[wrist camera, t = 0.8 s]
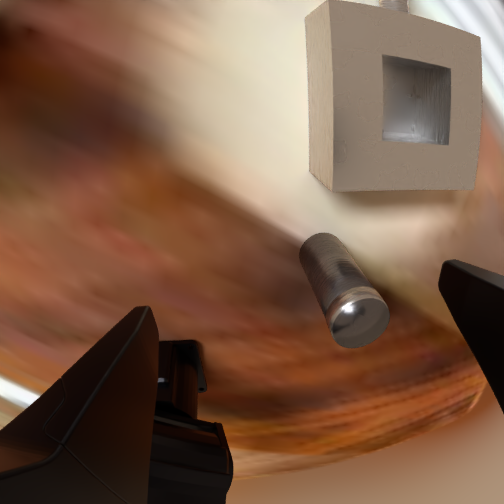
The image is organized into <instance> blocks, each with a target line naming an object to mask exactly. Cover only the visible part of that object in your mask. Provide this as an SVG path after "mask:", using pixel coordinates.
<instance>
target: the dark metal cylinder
mask: <svg viewBox="0 0 504 504" xmlns="http://www.w3.org/2000/svg"><path fill="white" fill-rule="evenodd" d="M299 258H300V262H301V264H302V267H303V269H304V271H305V273H306V275H307V278H308V280H309V282H310V284H311V287H312V289H313V291H314V293H315V296H316V298H317V300H318V302H319V305H320V307H321V309H322V311H323V314H324V316H325V318H326V322H327V325H328V328H329V330H330V332H331V335H332V337H333V339H334V340H335V341H336V342H337V343H338V344H339V345H341V346H343V347H346V348H358V347H362V346H365V345H367V344H369V343H371V342H373V341H374V340H376V339H377V338H378V337H379V336H380V335H381V334H382V333H383V332H384V331H385V329H386V327H387V325H388V323H389V319H390V313H389V309H388V306H387V305H386V303H385V302H384V300H383V299H382V297H381V296H380V294H379V293H378V292H377V291H376V290H375V289H374V287H373V286H372V285H371V283H370V282H369V280H368V279H367V278H366V276H365V275H364V273H363V272H362V271H361V269H360V268H359V266H358V265H357V264H356V262H355V261H354V260H353V258H352V257H351V255H350V254H349V253H348V251H347V250H346V249H345V247H344V246H343V245H342V243H341V242H340V241H339V239H338V238H337V237H335V236H334V235H332V234H329V233H319V234H315V235H313V236H311V237H310V238H308V239H307V240H306V241H305V242H304V244H303V245H302V247H301V249H300V253H299Z"/></svg>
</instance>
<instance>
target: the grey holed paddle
mask: <svg viewBox="0 0 504 504" xmlns="http://www.w3.org/2000/svg"><path fill="white" fill-rule="evenodd" d="M379 5H380V7H377V6H372V5H366V4H360V3H354V2H347V1H340V0H326V1H325V2H324V3H322V4H321V5H320V6H319V7H317V8H316V9H315V10H314V11H312V12H311V13H310V14H309V15H307V16H306V17H305V29H306V46H307V68H308V97H309V171H310V172H311V173H312V174H313V175H314V176H315V177H316V178H317V179H319V180H320V181H321V182H322V183H323V184H324V185H325V186H326V187H327V188H328V189H329V190H330V191H331V192H348V191H380V190H474V185H475V178H476V171H477V163H478V154H479V144H480V131H481V114H482V58H481V42H480V37H479V36H476V35H474V34H471V33H468V32H466V31H463V30H460V29H457V28H455V27H452V26H449V25H446V24H443V23H440V22H436V21H433V20H430V19H426V18H423V17H419V16H416V15H412V14H410V13H409V4H408V0H379Z"/></svg>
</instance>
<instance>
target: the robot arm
mask: <svg viewBox="0 0 504 504" xmlns="http://www.w3.org/2000/svg"><path fill="white" fill-rule="evenodd" d="M438 287H439V291H440V293H441V295H442V297H443V298H444V300H445V302H446V304H447V306H448V308H449V310H450V312H451V315H452V317H453V319H454V321H455V323H456V325H457V327H458V328H459V330H460V332H461V334H462V335H463V337H464V339H465V340H466V342H467V344H468V346H469V347H470V349H471V351H472V353H473V354H474V356H475V358H476V360H477V362H478V364H479V365H480V367H481V369H482V371H483V373H484V375H485V377H486V379H487V381H488V383H489V384H490V386H491V388H492V390H493V392H494V395H495V397H496V398H497V401H498V403H499V405H500V407H501V409H502V411H503V414H504V276H503V275H500V274H497V273H494V272H491V271H488V270H485V269H482V268H480V267H477V266H474V265H471V264H468V263H465V262H462V261H459V260H456V259H452V260H447V261H445V262H444V263H443V264H442V268H441V273H440V277H439V282H438ZM190 346H193V347H190ZM205 391H207V384H206V380H205V376H204V371H203V367H202V363H201V358H200V354H199V349H198V345H197V342H195V341H193V340H183V341H164V342H159V333H158V328H157V325H156V322H155V319H154V316H153V313H152V310H151V308H150V307H149V306H138V307H135V308H134V309H132V310H131V311H130V312H129V313H128V314H127V315H126V316H125V317H124V318H123V319H122V320H120V321H119V322H118V323H117V324H116V325H115V326H114V327H113V328H112V329H111V330H110V331H109V332H108V333H106V334H105V335H104V336H103V337H102V338H101V339H100V340H99V341H98V342H97V343H96V344H95V345H94V346H93V347H92V348H91V349H89V350H88V351H87V352H86V353H85V354H84V355H83V356H82V357H81V358H80V359H79V360H78V361H77V362H76V363H75V364H74V365H73V366H72V367H71V368H70V369H68V370H67V371H66V372H65V373H64V374H63V375H62V376H61V378H59V379H58V380H57V381H56V382H55V383H54V384H53V385H52V386H51V387H50V388H49V389H48V390H47V391H46V392H45V393H43V394H42V395H41V396H40V397H39V398H38V399H37V400H36V401H35V402H33V403H32V404H31V405H30V406H29V407H28V408H26V409H25V410H24V411H23V412H22V413H21V414H19V415H18V416H17V417H16V418H15V419H13V420H12V421H11V422H10V423H9V424H7V425H6V426H5V427H4V428H3V429H1V430H0V504H225V503H226V494H227V492H228V490H229V488H230V486H231V482H232V478H233V460H232V456H231V453H230V450H229V446H228V443H227V440H226V437H225V433H224V430H223V426H222V424H221V423H216V422H214V423H211V422H207V421H202V420H198V419H197V398H198V393H201V392H205Z"/></svg>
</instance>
